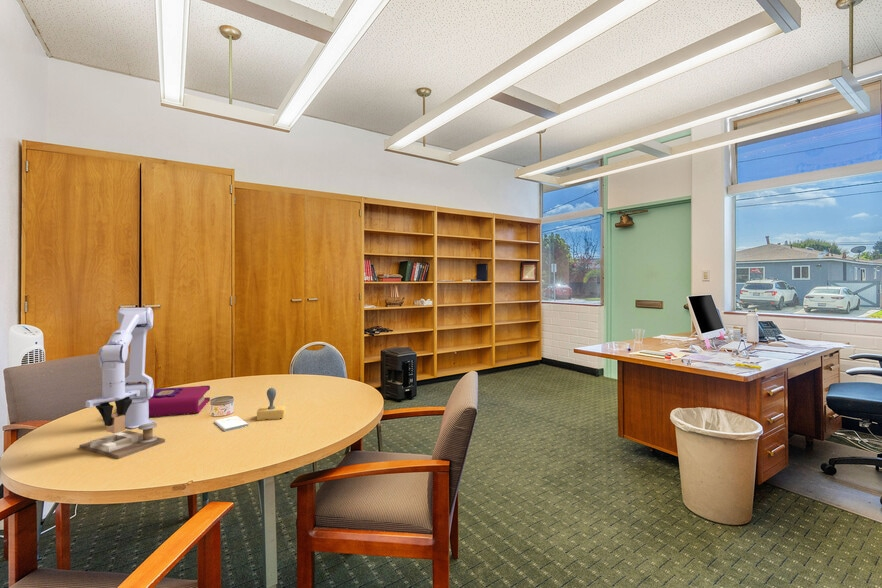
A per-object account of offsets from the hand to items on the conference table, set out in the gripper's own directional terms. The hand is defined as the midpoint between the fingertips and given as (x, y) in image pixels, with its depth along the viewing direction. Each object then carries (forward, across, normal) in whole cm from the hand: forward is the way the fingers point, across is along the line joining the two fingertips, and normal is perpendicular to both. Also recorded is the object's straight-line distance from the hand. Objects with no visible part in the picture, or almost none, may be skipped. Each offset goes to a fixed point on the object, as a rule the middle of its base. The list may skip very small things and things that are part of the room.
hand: (114, 423), depth 130 cm
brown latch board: (+8, +2, 0) cm, 8 cm away
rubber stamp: (+8, +42, -24) cm, 50 cm away
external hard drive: (+9, +30, -16) cm, 35 cm away
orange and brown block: (+2, 0, -1) cm, 2 cm away
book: (+9, +33, +24) cm, 41 cm away
